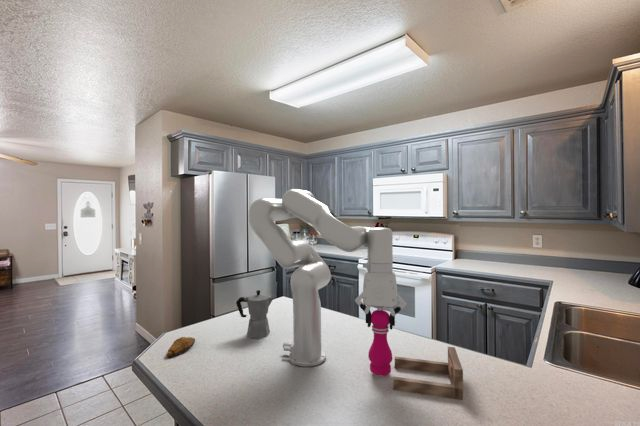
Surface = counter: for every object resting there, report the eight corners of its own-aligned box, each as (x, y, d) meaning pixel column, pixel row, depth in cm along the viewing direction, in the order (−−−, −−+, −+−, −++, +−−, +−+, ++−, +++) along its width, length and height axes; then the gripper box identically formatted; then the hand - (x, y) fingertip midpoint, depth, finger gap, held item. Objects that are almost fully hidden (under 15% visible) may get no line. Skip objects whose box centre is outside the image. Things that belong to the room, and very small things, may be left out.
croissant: (176, 360, 103) (176, 345, 103) (160, 358, 105) (160, 343, 105) (201, 343, 116) (201, 330, 116) (186, 342, 118) (186, 329, 118)
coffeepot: (273, 328, 131) (273, 286, 131) (275, 337, 122) (275, 292, 122) (237, 331, 128) (236, 288, 128) (235, 340, 118) (235, 294, 118)
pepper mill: (392, 378, 88) (392, 309, 88) (367, 375, 90) (367, 308, 90) (392, 365, 95) (391, 302, 95) (368, 363, 97) (368, 301, 97)
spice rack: (392, 389, 85) (392, 361, 85) (394, 365, 98) (394, 340, 98) (463, 400, 80) (462, 369, 80) (454, 373, 93) (454, 347, 93)
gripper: (349, 268, 91) (350, 328, 91) (409, 271, 87) (409, 334, 87) (354, 264, 99) (354, 319, 99) (409, 267, 94) (409, 325, 94)
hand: (380, 326), depth 93 cm, fingers closed on pepper mill, 6 cm apart
